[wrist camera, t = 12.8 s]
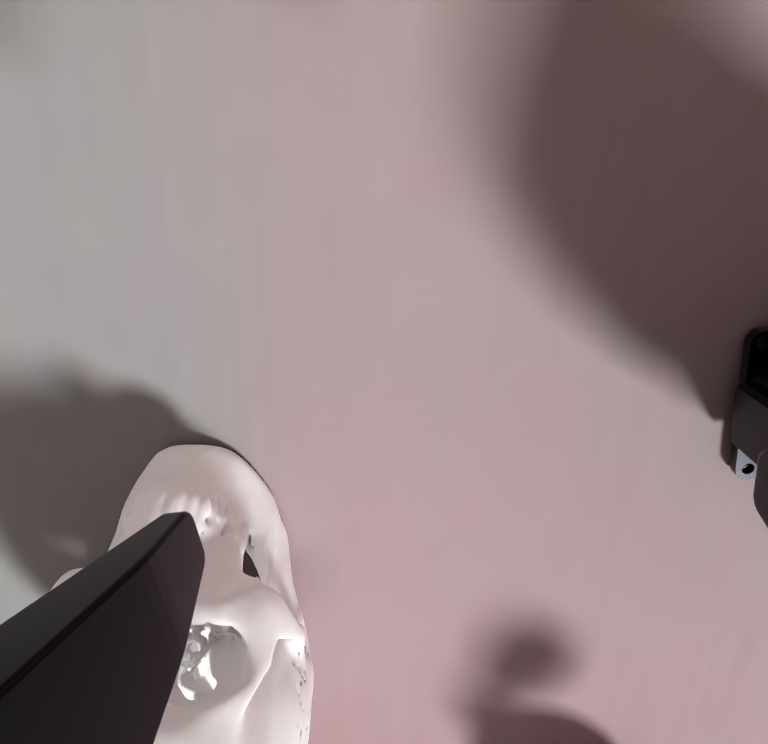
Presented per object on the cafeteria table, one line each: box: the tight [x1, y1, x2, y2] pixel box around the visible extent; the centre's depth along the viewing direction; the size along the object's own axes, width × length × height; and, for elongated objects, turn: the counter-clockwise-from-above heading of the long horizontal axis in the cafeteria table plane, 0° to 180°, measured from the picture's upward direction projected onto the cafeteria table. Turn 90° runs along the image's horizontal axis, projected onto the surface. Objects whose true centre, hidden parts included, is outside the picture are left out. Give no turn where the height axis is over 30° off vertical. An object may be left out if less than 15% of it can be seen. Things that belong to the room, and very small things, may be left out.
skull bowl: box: [50, 445, 314, 744], centre depth 24 cm, size 10×14×12 cm
